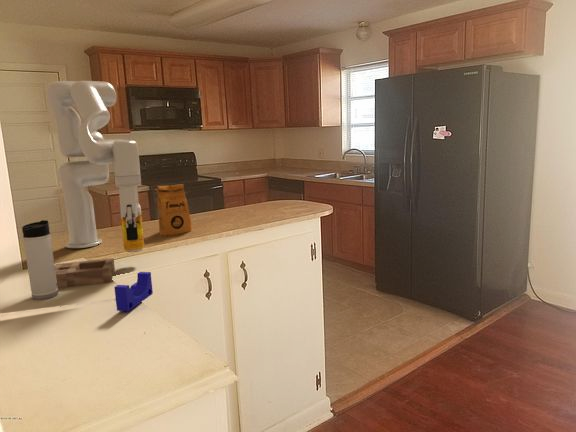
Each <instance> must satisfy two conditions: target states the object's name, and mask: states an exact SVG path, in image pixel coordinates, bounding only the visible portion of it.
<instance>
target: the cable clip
mask: <svg viewBox="0 0 576 432" xmlns="http://www.w3.org/2000/svg"><path fill="white" fill-rule="evenodd" d="M151 272H152V271H139V272H138V273H136V274H137V280H136V282H135V283H133V284H131V285H129V284H118V285H115V286H114V295H115V303H116V311H117V312H118V311H119V312H130V310H132V309H134V308H135V307H136V306H138V305H139V304H141V303H142V302H143V301H145V300H146V299H148V298H149V297H150V296H152V295H153V294H154V292H153V283H152V273H151Z"/></svg>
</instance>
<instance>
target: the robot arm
mask: <svg viewBox="0 0 576 432" xmlns="http://www.w3.org/2000/svg"><path fill="white" fill-rule="evenodd" d="M46 97H47V98H46V99H47V102H48V105H49V108H50V111H51V112H52V115H53V118H54V121H55V126H56V128H55V129H56V135H57V141H58V146H59V151H60V154H61V155H62V156H63V157H65V158H71V159H73V158H86V160H76V161H74V160H73V161H67V162H63V163H62V164H61V165H60V166H59V167H58V171H57V174H58V175H57V176H58V178H59V181H60V185H61V189H62V192H63V198H64V205H65V212H66V213H65V214H66V220H67V226H68V227H67V228H68V235H69V241H68V242H67V243H66V244H65V246H66V248H68V249H85V248H92V247H95V246H98V244H99V245H100V243H101V244H102V243H103V239H102V238H99V237H98V232H97V226H96V225H97V224H96V215H95V208H94V207H95V206H94V199H93V197H92V194H91V193H90V192H89V191H88V190H87V188H85V187H90V186H99V185H104V184H106V183H107V182H108V181H109V179H110V169H109V165H111V164H113V169H114V170H113V171H114V182H115V187H117V188H118V190H119V191H118V194H119V208H120V218H122V219H124V218H125V215H126V227H127V228H126V234H127V240H137V239H138V233H137V227H136V218H137V217H138V204H139V205H140V203H139V202H140V201H139V188H138V186H139V187H140V186H142V177H141V165H140V164H141V163H140V155H139V145H138V142H137V141H135V140H129V139H128V140H126V139H122V138H121V139H105V137H104V136H103V135H102V134H101V133H100V132H99V131H98V130H101V129H102V128H104V127H105V126H107V125H108V123H109V122H110V120H111V114H110V111H109V110H108V108H109V107H110V108H111V107H113V106H115V104H116V103H117V97H118V96H117V92H116V89H115V87H114V86H113V85H112V84H111V83H110V82H108V81H98V80H97V81H95V80H78V81H77V80H75V81H74V80H73V81H72V80H58V81H57V80H56V81H53V82H50V83H49V84H48V86H47V89H46ZM73 107H76V109H77V111H78V112H77V111H76V110H75V109H74V108H73ZM132 215H134V217H132ZM133 220H134V221H133Z"/></svg>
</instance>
